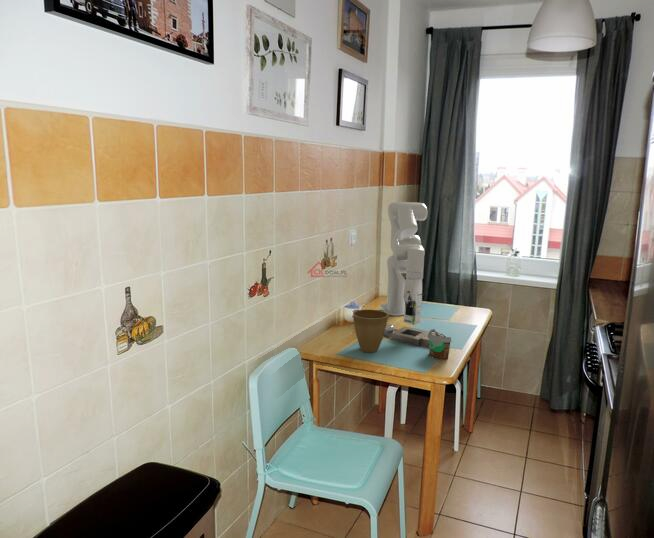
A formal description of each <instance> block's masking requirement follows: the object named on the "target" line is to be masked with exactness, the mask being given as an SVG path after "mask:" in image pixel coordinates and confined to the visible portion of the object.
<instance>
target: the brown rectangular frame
mask: <svg viewBox="0 0 654 538" xmlns="http://www.w3.org/2000/svg"><path fill="white" fill-rule="evenodd" d="M429 331H430V330H429ZM429 331H428V330H423V329H420V328H419V329H418V328H414V327H411V326H410V327H409V326H406V325H405V326H403V327H401V328H398V330H397V331H395V332H393V333H391V337H395V338H400V339H404V340H408V341H413V342H417V343H419V342H420V345H419V346H424V347H429V338H428V337H427V336H428V333H429ZM407 332H409V333H413V334H418V335H417V336H411V335H407V334H405V333H407Z"/></svg>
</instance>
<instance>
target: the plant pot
mask: <svg viewBox="0 0 654 538" xmlns="http://www.w3.org/2000/svg"><path fill="white" fill-rule="evenodd" d="M352 317H353V324H354V330H355V334H356V335H355V336H356V339H357V342H358V345H359V349H360V351H362V352H365V353H375V352H377V351H379V348H380V346H381V343H382V341H383V339H384V336H383V335H384V332H385V329H386V325H388V317H389V315H388V314H387V313H386V312H384V310H378V309H368V308H367V309H359V310H358V309H357V310H355V311H353V312H352Z"/></svg>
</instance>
